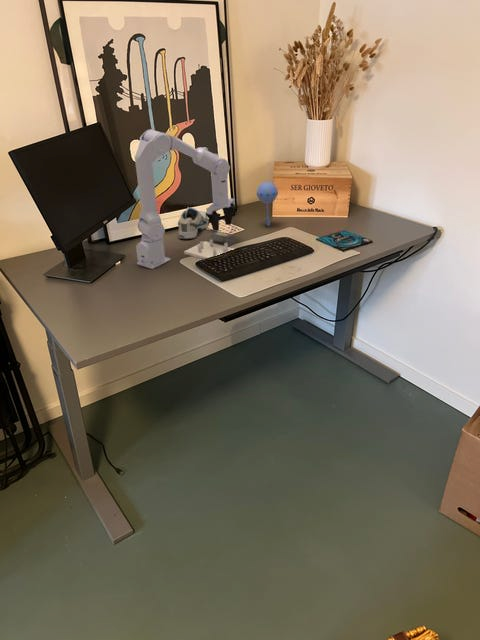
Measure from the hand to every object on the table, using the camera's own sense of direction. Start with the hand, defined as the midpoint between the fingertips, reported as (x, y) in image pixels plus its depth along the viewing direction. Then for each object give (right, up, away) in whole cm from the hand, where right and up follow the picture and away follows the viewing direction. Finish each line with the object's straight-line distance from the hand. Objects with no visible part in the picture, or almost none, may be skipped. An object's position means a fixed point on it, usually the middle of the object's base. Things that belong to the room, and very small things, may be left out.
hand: (222, 227), depth 183 cm
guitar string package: (+46, -6, +2) cm, 47 cm away
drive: (0, -6, +3) cm, 7 cm away
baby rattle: (+18, +5, +20) cm, 27 cm away
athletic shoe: (-12, +2, +17) cm, 21 cm away
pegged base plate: (-4, -10, -4) cm, 12 cm away
